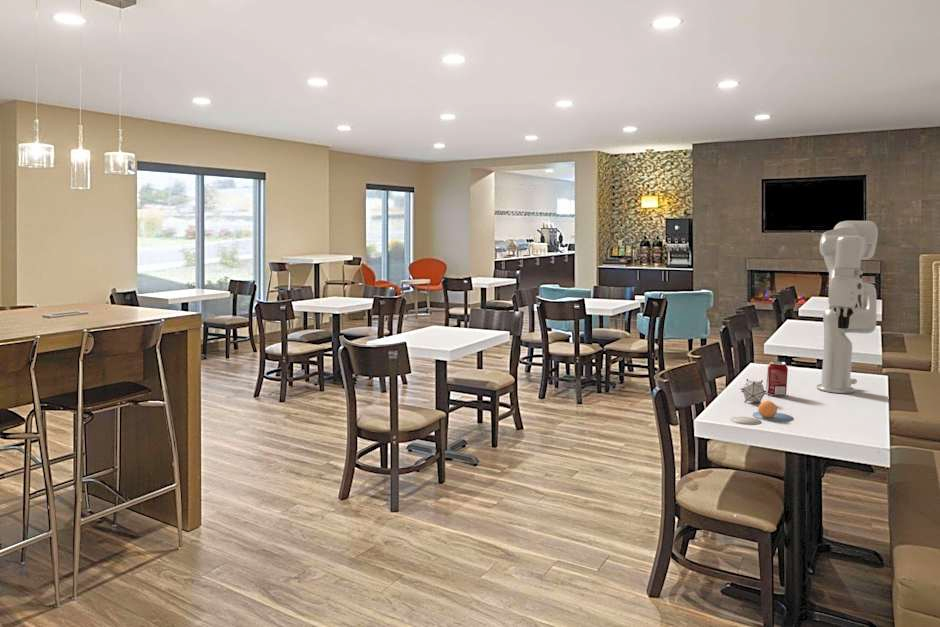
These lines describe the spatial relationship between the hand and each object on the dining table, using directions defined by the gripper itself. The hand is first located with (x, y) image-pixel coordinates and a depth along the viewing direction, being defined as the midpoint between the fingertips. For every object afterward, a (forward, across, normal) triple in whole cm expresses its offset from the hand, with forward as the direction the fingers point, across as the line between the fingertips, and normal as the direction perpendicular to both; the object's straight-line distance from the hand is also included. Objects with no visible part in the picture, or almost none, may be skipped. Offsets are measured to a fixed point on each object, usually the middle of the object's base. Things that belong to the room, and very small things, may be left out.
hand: (843, 328), depth 241 cm
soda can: (+27, +22, +4) cm, 35 cm away
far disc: (+27, 0, +43) cm, 51 cm away
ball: (+24, 0, +34) cm, 42 cm away
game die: (+27, +17, +21) cm, 38 cm away
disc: (+27, 0, +31) cm, 41 cm away
